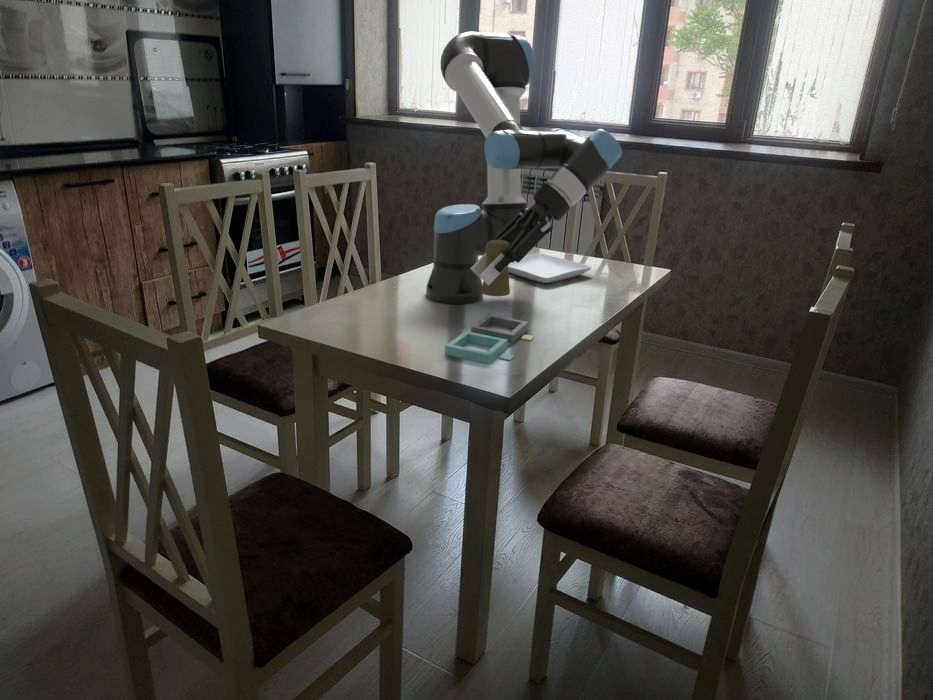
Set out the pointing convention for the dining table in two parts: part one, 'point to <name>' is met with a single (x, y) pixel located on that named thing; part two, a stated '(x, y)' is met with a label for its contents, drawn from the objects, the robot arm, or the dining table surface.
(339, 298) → the dining table surface
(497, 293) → the cork
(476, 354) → the panel
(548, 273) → the salad plate
